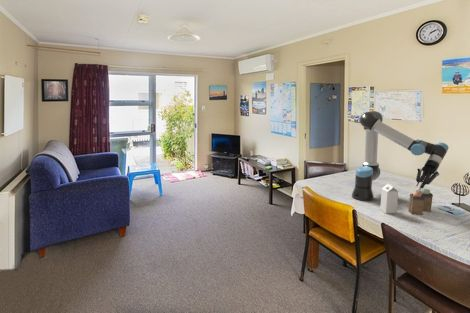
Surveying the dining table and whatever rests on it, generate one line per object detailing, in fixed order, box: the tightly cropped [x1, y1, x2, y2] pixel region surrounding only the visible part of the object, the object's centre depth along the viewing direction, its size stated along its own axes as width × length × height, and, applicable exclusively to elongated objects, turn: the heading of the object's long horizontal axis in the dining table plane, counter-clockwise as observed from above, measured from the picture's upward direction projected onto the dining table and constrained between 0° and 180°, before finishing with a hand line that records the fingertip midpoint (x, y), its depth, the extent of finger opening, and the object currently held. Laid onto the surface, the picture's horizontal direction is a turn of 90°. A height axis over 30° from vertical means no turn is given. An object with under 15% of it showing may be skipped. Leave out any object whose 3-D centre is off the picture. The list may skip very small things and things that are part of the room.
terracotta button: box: [412, 190, 422, 197], centre depth 188 cm, size 5×5×4 cm
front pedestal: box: [407, 193, 425, 216], centre depth 189 cm, size 6×6×12 cm
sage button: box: [420, 188, 431, 194], centre depth 193 cm, size 5×5×4 cm
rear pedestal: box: [420, 190, 434, 213], centre depth 194 cm, size 6×6×12 cm
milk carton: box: [379, 182, 399, 214], centre depth 192 cm, size 7×7×19 cm
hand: (417, 191), depth 187 cm, fingers closed
